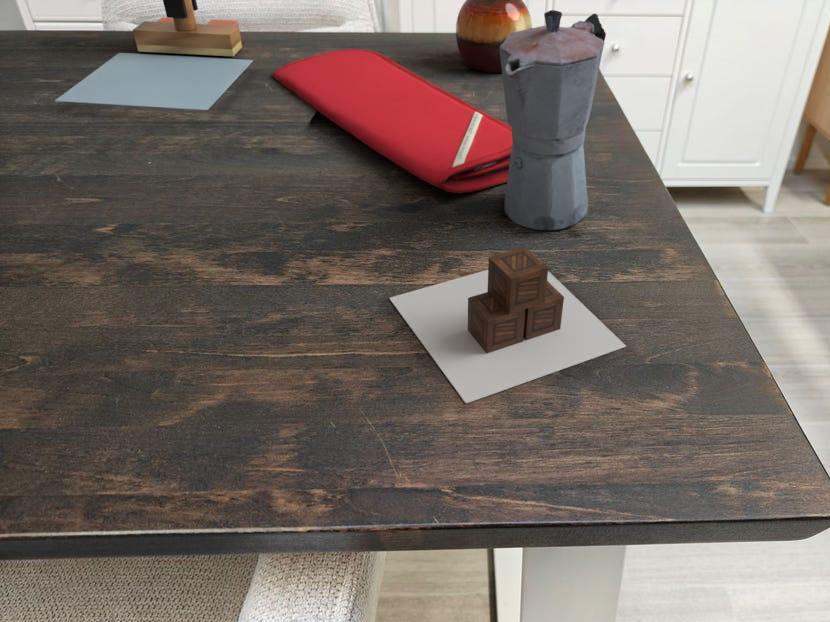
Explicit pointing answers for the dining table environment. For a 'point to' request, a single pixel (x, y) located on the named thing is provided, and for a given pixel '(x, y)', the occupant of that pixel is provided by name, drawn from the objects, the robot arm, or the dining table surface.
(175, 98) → the tray
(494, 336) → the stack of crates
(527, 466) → the dining table surface
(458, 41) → the vase
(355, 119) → the dish drying mat
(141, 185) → the dining table surface
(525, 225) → the moka pot
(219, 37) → the brush
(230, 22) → the right orange cube
